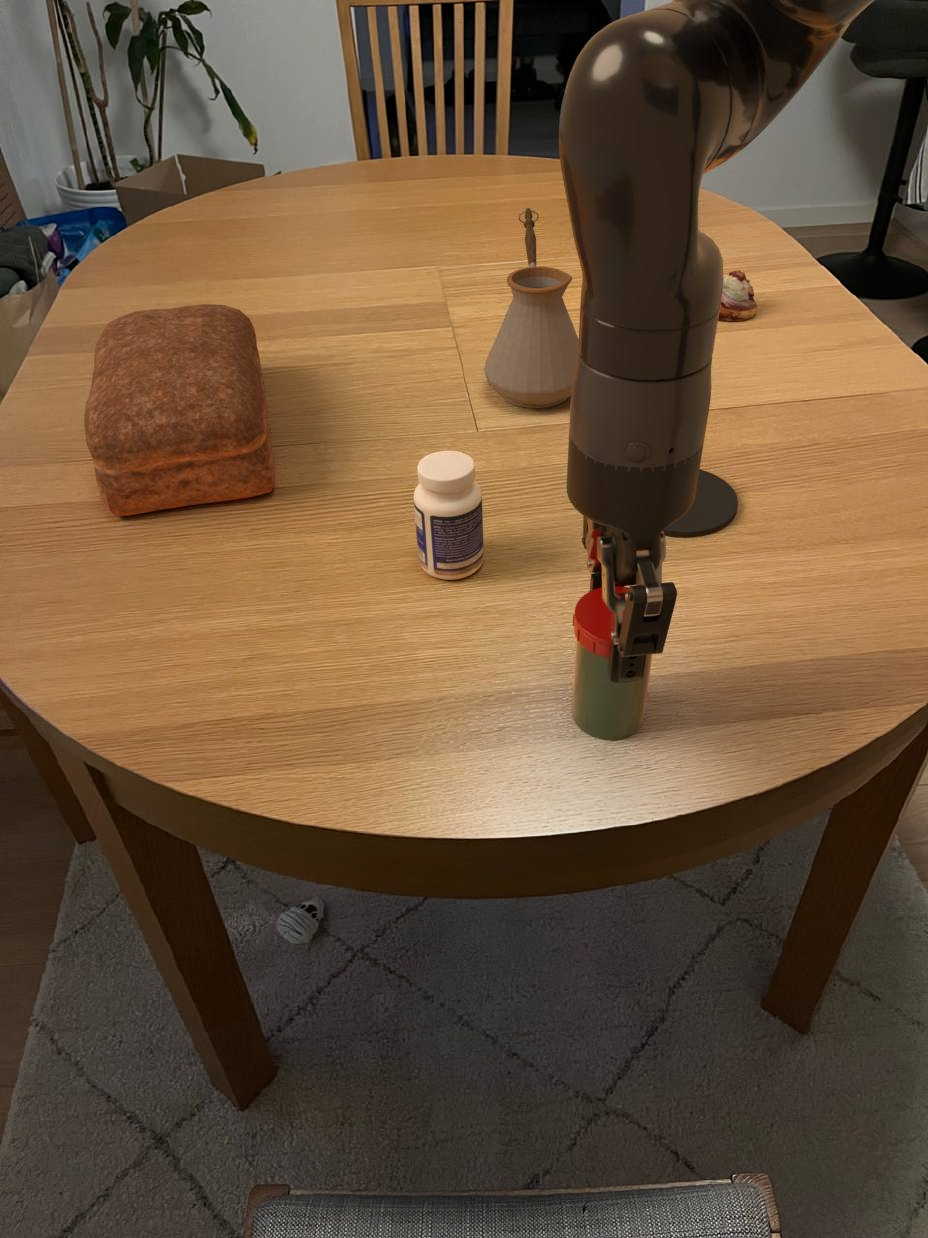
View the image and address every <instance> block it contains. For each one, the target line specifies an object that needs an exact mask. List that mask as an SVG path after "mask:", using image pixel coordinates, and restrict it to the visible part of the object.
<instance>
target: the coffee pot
mask: <svg viewBox="0 0 928 1238" xmlns="http://www.w3.org/2000/svg"><path fill="white" fill-rule="evenodd" d="M533 213H534V214H536V219H534V220H533ZM523 214H524V220H525V221H523V220H522V219H521V215H523ZM539 217H540V216H539V213H538V212H537V211H535V210H532V209H531V208H530V207H527V208H525V210H523V211H522V212H520V213H519V215H518V220H519V222H521V224H523V227H524V228H525V235H524V244H525V250H526V257H527V264H528V265H527V267H523V268H522V267H521V268H518V269H516V270H514V271H512V272H510V273H509V275H507V278H506V283H507V285H508V288H510V289H511V293H512V299H511V301H510V303H509V306H508V309H507V311H506V313H505V316H504V318H503V320H502V322H501V325H500V327H499V329H498V332H497V334H496V336H495V339H494V341H493V344H492V346H491V348H490V351H489V353H488V355H487V358H486V360H485V363H484V367H483V371H484V375H485V378H486V380H487V382H488V384H489V386H490V387H491V388H492V389H493V390H494V391H495V392H496V393H498V395H500V396H502V397H503V399H505V400H506V401H507V402H508V403H511V404H512V405H515V406H518V407H522V408H527V409H529V408H530V409H542V408H549V407H550V408H551V407H553V406H557V405H559V404H562V403H563V402H565V401H566V400H567V399H568V398H569V397H571V390H572V382H573V376H574V371H575V366H576V361H577V354H578V343H579V336H578V334H577V332H576V329H575V327H574V324H573V321H572V318H571V316H570V314H569V311H568V309H567V306H566V304H565V301H564V299H563V297H564V294H565V293H566V290H567V288H568V286H569V285H570V284H571V282H572V280H573V276H572V275H570V274H569V273H567V272H565V271H564V270H561V269H559V268H555V267H551V266H537V237H536V234H535V229H534V228H535V225H536V222H537V221H538V220H539Z"/></svg>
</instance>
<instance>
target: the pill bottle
mask: <svg viewBox="0 0 928 1238" xmlns="http://www.w3.org/2000/svg"><path fill="white" fill-rule="evenodd" d="M416 470H417V482H418V484H417V485H416V486H415V489H414V491H413V511H414V520H415V532H416V542H417V543H416V544H417V554H418V555H417V556H418V563H419V565H420V567H421V570H423V571H424V572H425V573H426V574H428V575H429V576H431V577H433V578H436V579H440V580H447V581H448V580H449V581H453V580H460V579H464V578H467V577H469V576H471V575H473V574H474V573H476V572H477V571H478V570H479V569H480V568H481V566H482V564H483V562H484V555H485V554H484V553H485V552H484V551H485V550H484V521H483V518H484V517H483V515H484V514H483V494H482V490H481V487H480V485H479V483H478V482H477V481H476V480H475V479H476V464H475V461H474V459H473V457H471V456H470V455H469V454H467V453H464V452H461V451H457V450H440V451H436V452H435V451H434V452H432V453H430V454H429V453H428V454H427V455H425V456H423V457H422V458H421V459H420V460H419V462H418V463H417V469H416Z"/></svg>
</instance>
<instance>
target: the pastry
mask: <svg viewBox="0 0 928 1238" xmlns="http://www.w3.org/2000/svg"><path fill="white" fill-rule="evenodd" d="M754 297H755V292H754V288H753V286H752V285H751V280H749V279H747V276H746V273H745V272H744V271H741V270H739V269H738V270H732V271H729V272H728V275H727V276H724V277H723V289H722V298H721V304H720V311H719V318H718V321H723V322H724V321H725V322H730V321H731V322H740V321H745V320H749V319H752V318H753V317H754V316H755V315H756V314H757V311H758V304H757V302H756V300H755V298H754Z"/></svg>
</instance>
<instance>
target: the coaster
mask: <svg viewBox="0 0 928 1238" xmlns="http://www.w3.org/2000/svg"><path fill="white" fill-rule="evenodd" d="M738 508H739V498H738V495H737V493H736V491H735V490H734V488H733V487H732V486H731V485H730V484H729V483H728V482H727V481H726V480H724V479H723V478H721V477H720V476H718V475H716V474H714V473H712V472H709V471H707V470H704V469H701V468H700V470H699V476H698V482H697V488H696V494H695V499H694V502H693V504H692V506H691V508H690V509H689V511H688V512H687V513H686V514H685V515H684V516H682V517H681V518H680V519H678V520H677V521H675V522H673V523H672V524H671V525H669V526H668V527H667V528H665V529H664V530H663V532H664V534H665V536H667V537H675V538H695V537H702V536H707V535H710V534H713V533H716V532H718V531H720V530H723V529H724V528H725V527H727V526H728V525H729V524H730V523H732V522H733V520H734V519H735V517H736V515H737V512H738Z"/></svg>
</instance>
